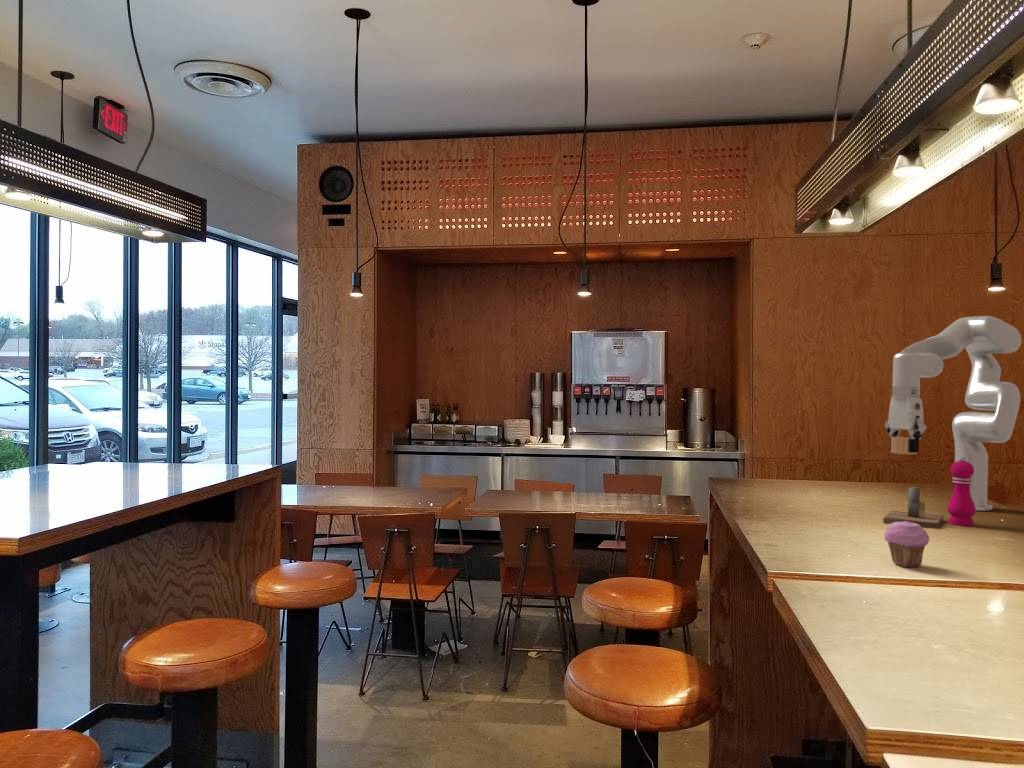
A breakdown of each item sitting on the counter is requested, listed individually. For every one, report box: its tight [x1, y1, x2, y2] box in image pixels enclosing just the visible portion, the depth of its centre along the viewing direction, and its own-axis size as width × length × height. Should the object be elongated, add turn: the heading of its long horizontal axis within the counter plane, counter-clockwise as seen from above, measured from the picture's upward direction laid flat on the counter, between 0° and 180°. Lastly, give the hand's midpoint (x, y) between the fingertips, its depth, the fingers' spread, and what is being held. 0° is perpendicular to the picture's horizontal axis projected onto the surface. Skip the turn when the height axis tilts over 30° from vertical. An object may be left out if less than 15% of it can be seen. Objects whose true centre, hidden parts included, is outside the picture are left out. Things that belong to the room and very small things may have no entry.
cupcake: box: [884, 521, 930, 568], centre depth 183 cm, size 9×9×10 cm
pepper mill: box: [946, 456, 977, 527], centre depth 237 cm, size 7×7×20 cm
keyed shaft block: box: [882, 486, 944, 529], centre depth 240 cm, size 16×14×10 cm
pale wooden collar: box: [890, 435, 918, 455], centre depth 249 cm, size 7×7×5 cm
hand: (904, 450), depth 249 cm, fingers closed on pale wooden collar, 7 cm apart
